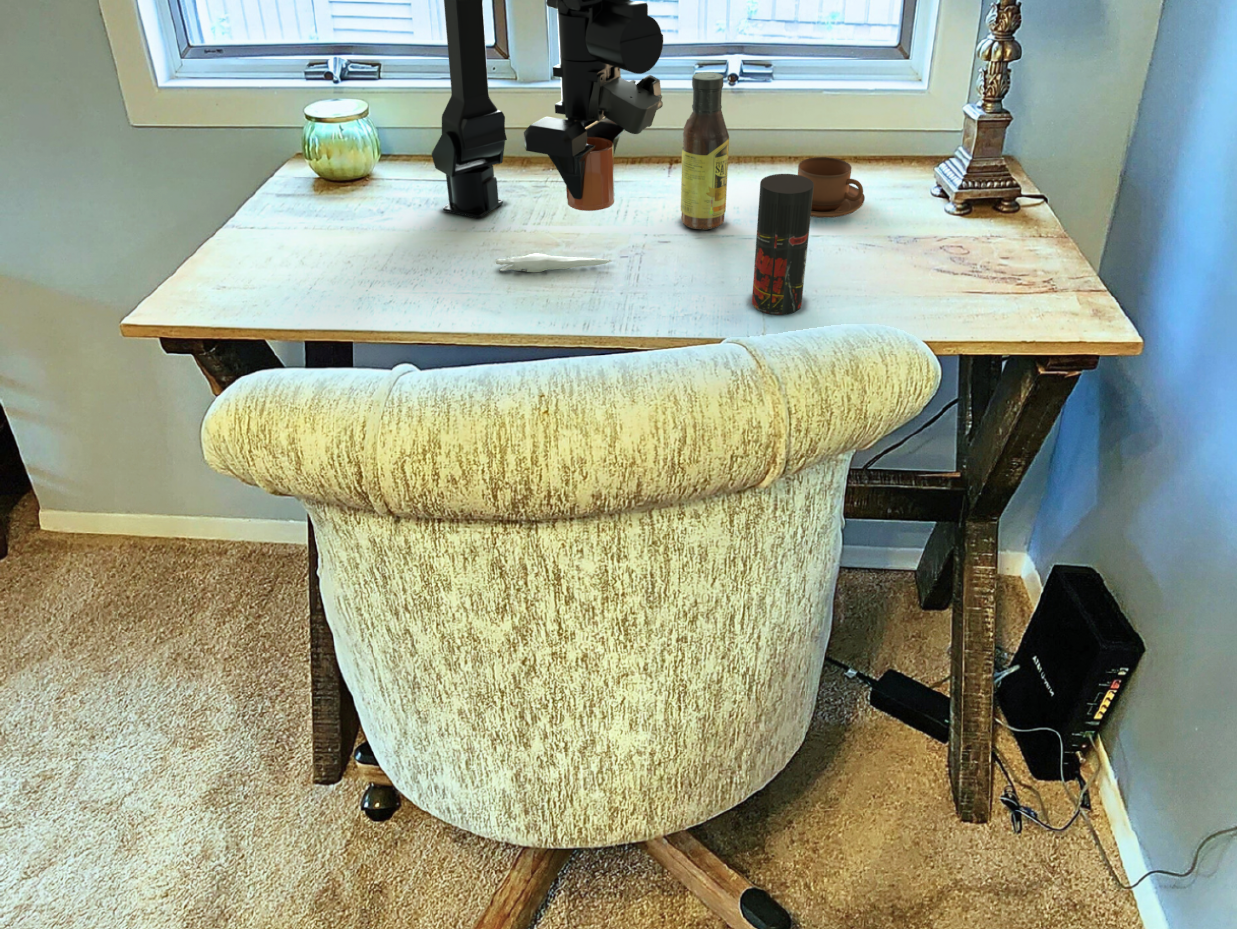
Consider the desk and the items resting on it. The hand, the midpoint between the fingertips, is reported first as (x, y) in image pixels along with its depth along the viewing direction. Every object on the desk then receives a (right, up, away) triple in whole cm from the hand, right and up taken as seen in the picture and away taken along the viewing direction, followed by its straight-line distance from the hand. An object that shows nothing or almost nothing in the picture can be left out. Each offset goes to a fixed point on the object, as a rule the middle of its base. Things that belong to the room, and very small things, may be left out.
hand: (590, 190), depth 123 cm
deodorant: (+22, -14, 0) cm, 26 cm away
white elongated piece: (-5, -8, +9) cm, 13 cm away
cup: (0, -1, +1) cm, 2 cm away
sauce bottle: (+15, +1, +20) cm, 25 cm away
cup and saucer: (+32, +4, +23) cm, 40 cm away
